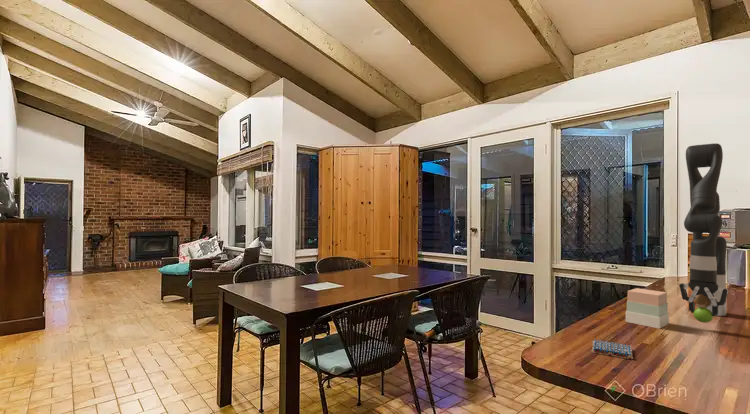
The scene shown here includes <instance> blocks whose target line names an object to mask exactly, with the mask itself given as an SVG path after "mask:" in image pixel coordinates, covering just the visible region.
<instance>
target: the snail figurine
mask: <svg viewBox="0 0 750 414" xmlns="http://www.w3.org/2000/svg"><path fill="white" fill-rule="evenodd" d="M694 302H695V310H694V313H693V317H694V318H695V320H697V321H699V322H700V323H703V324H704V323H710V322H711V321H712V320H713V319H714V316H712V312H711V311H710V310H709V309H707V307H709V306H710V305H711V303H712V302H711V300H710V299H709V298H708V297H707V296H703V295H702V294H699V295H697V296H696V298H695V300H694ZM698 307H699V308H698Z"/></svg>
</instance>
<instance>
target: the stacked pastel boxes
mask: <svg viewBox="0 0 750 414" xmlns="http://www.w3.org/2000/svg"><path fill="white" fill-rule="evenodd" d="M667 294H668V292H665V291H661V290H660V291H658V290H653V289H645V288H638V287H636V288H633V289H630V290H629V289H628V290H627V300H626V311H625V322H626V323H631V324H636V325H640V326H645V327H650V328H654V329H661V328H663V327H665V326H667V325H669V324H670V320H669V319H670V317H669V316H670V315H669V314H670V313H669V312H668V310H669V309H668V301H667V300H668V299H667V298H668V297H667V296H668V295H667Z"/></svg>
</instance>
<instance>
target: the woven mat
mask: <svg viewBox="0 0 750 414" xmlns="http://www.w3.org/2000/svg"><path fill="white" fill-rule="evenodd" d="M591 346H592V348H591V352H592V353H594V354H599V355H605V356H611V357H617V358H622V359H628V360H633V359H634V357H633V350H632V346H631V345H630V344H628V345H627V344H626V343H624V344H623V343H617V342H614V341H612V342H611V341H607V340H606V341H605V340H601V339H600V340H599V339H596V338H595V339H594V340H592V345H591Z"/></svg>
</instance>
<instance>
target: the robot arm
mask: <svg viewBox="0 0 750 414" xmlns="http://www.w3.org/2000/svg"><path fill="white" fill-rule="evenodd" d="M723 155H724V153H723V148H722V145H721V143H705V144H695V145H689V146H688V147H687V148H686V149H685V161H686V168H687V176H688V180H689V181H688V182H689V200H690V201H689V203H690V209H689V210H688V213H687V214H686V216H685V219H684V221H683V226H684V228H685V230H686V231H687V232H689V233H692V240H691V241H690V258H689V281H688V283H679V284H678V285H679V290H680V295H681V299H682V300H684V301H687V302H688V310H689V311H690V313H692V314H694V310H695V309H696V301H695V298H696V296H697V295H699V294H702V295H703V296H707V297H708V298H709V299H710V300H711V302H712V303H711V305H710V306H709V307H707V309H709V310H710V311H711V312H712V316H713V317H716V316H721V317H723V316H727V299H728V294H729V292H730V290H729V288H727V268H726V267H727V265H726V264H727V251H728V250H727V248H728V247H727V246H728V244H727V239H726V238H725V237H723V236H719V234H720V231H721V228H722V227H723V219H722V217H721V216H720V215H718V214H719V213H720V211H721V206H720V205H721V204H720V195H719V193H718V191H717V189H718V184H719V180H720V175H721V170H722V164H723V159H724V158H723V157H724V156H723ZM700 168H709V170H708V171H707V172H706V174H705V175H704V176H702V174H701V172H700V171H699V169H700ZM703 234H708V235H705V236H704V235H703ZM688 287H689V289H690V290H691V292H692V293H691V294H690V296H689V295H688V292H687V289H688ZM697 308H699V307H697Z"/></svg>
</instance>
